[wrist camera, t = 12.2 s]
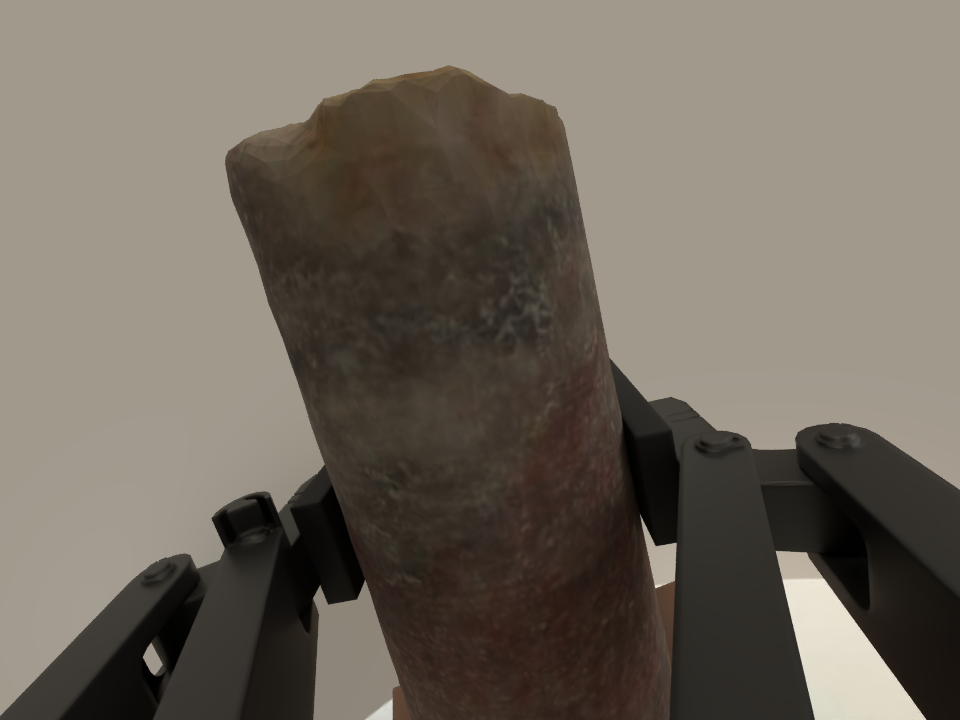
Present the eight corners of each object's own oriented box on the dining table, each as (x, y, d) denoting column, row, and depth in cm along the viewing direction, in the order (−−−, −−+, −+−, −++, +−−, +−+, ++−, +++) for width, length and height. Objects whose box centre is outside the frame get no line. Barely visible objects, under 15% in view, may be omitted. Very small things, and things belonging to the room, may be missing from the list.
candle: (548, 649, 19) (417, 161, 15) (738, 753, 14) (627, 49, 10) (411, 833, 14) (145, 179, 10) (627, 1098, 9) (277, -36, 5)
